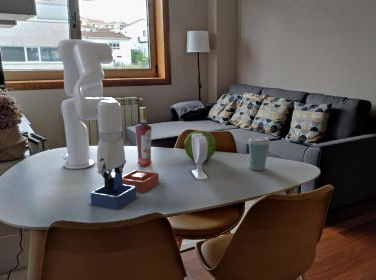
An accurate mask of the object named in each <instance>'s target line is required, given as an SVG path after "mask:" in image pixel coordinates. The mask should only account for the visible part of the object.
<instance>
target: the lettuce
mask: <svg viewBox="0 0 376 280" xmlns="http://www.w3.org/2000/svg"><path fill="white" fill-rule="evenodd" d="M199 133H201V134H202V135H203V136H205V137H206V140H207V143H208V151H207V158H206V160H207V159H210V158H212V156H213V155H214V154H215V152H216V149H217V148H216V147H217V145H216V140H215V137H214V136H213V135H212V134H211V132H209V131H206V130H195V131H193V132H191V133H190V134H188V135H187V136H186V138H185V140H184V150H185V153H186V155H187V156H188V158H190V159H192V160H194V156H193V150H192V134H199Z"/></svg>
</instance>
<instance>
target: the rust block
mask: <svg viewBox="0 0 376 280" xmlns="http://www.w3.org/2000/svg"><path fill="white" fill-rule="evenodd" d="M132 180H136V181H145V180H147V174H144V173H136V174H134V175H132Z"/></svg>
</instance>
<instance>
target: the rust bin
mask: <svg viewBox="0 0 376 280" xmlns="http://www.w3.org/2000/svg"><path fill="white" fill-rule="evenodd" d="M136 173H144V174H147V180H145V181H136V180H132V175H134V174H136ZM159 178H160V177H159V173H158V172H151V171H145V170H138V169H134V170H132V171H130V172H128V173H126V174H124V175H122V181H123V184H124V185H130V186H136V193H141V194H145V193H146V192H148V191H150V190H151V189H152V188H155V187H156V186H157V185H159V184H160V179H159Z"/></svg>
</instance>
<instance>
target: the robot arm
mask: <svg viewBox="0 0 376 280" xmlns="http://www.w3.org/2000/svg"><path fill="white" fill-rule="evenodd" d="M57 52H58V55H59V58H60V60H61V62H62V65H63V88H64V93H65V94H66V96H67V97H70V98H66V99H63V101H62V102H61V104H60V110H61V115H62V118H63V123H64V132H65V143H66V151H67V153H66V154H64V155H63V156H62V158H61V159H62V160H64V161H66V162H65V163H64V167H65V168H66V169H68V170H81V169H86V168H90V167H92V166H93V165H94V164H95V163H94V160H92V159H91V157H90V141H89V130H88V127H87V125H86V124H85V123H84V122H83V121H91V120H93V121H94V120H97V124H98V138H99V139H98V140H99V141H98V142H97V148H96V149H97V150H96V165H97V166H96V167H97V174H99V175H101V176H102V178H103V181H104V186H105V188H108V189H113V178H111V176H112V172H113V171H114V173H121V174H122V175H123V173H124V170H123V169H124V167H125V165H126V164H127V160H126V153H125V144H124V140H123V126H122V110H121V104H120V102H119V101H118V100H116V99H115V98H114V97H104V96H103V95H104V88H103V87H104V85H103V81H104V78H105V72H104V69H103V66H102V65H110V64H112V63H113V60H114V50H113V48H112V47H111V45H110V43H108V42H106V41H103V40H95V39H94V40H93V39H92V40H91V39H76V38H75V39H72V38H71V39H69V38H68V39H67V38H66V39H61V40H60V41H59V42H58V44H57ZM82 120H83V121H82Z"/></svg>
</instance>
